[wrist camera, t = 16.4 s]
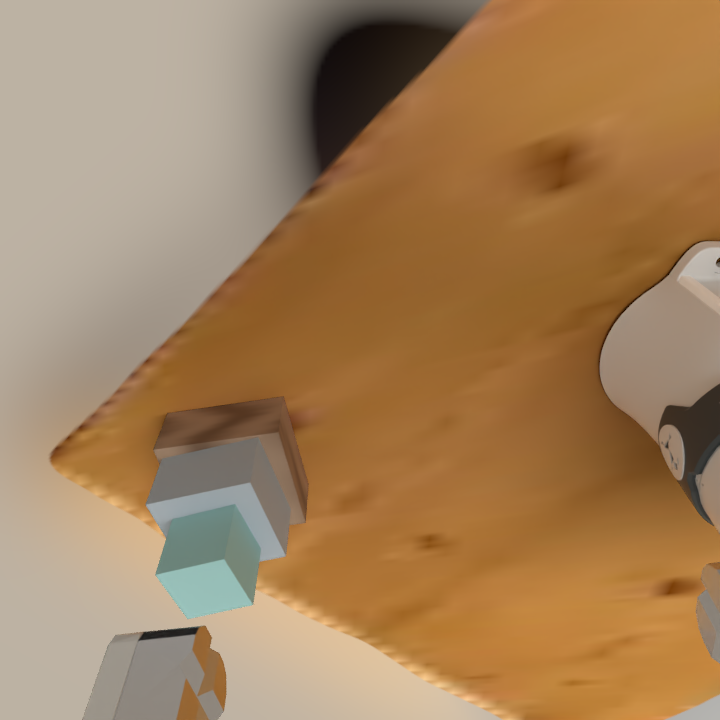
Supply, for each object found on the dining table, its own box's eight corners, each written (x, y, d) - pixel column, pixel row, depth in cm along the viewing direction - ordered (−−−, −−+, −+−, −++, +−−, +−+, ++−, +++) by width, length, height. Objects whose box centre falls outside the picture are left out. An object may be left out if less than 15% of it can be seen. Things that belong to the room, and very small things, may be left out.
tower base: (284, 394, 54) (278, 432, 50) (308, 482, 60) (305, 522, 55) (168, 411, 55) (153, 449, 51) (202, 496, 60) (191, 537, 56)
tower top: (258, 437, 50) (250, 482, 46) (290, 508, 54) (285, 556, 50) (162, 458, 51) (145, 504, 47) (201, 527, 55) (189, 575, 51)
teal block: (235, 503, 47) (224, 559, 43) (261, 548, 50) (253, 605, 45) (172, 519, 48) (155, 574, 44) (201, 562, 50) (187, 619, 46)
